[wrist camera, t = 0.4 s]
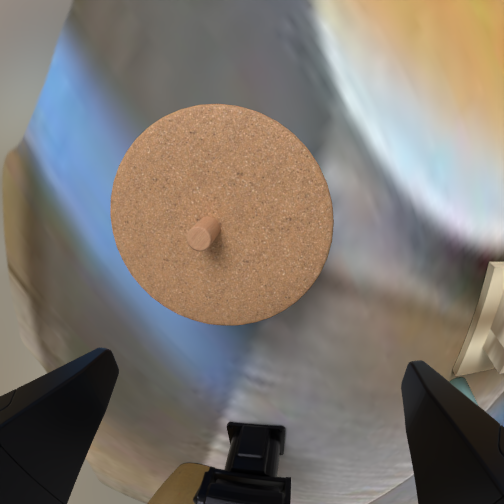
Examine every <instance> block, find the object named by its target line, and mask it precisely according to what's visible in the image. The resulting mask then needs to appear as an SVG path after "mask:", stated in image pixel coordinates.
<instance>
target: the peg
mask: <svg viewBox="0 0 504 504" xmlns="http://www.w3.org/2000/svg"><path fill="white" fill-rule="evenodd" d="M450 383H451V384H452V385H454V386H455V387H456V388H457V389H458V390H460V391H461V392H462V393H463V394H465V395H466V396H467V397H468V398H469V399H471V400H472V401H473V402H474V403H475V404H477V402H476V400H475V398H474V396H473V394H472V392H471V390H470V387H469V385H468V383H467V381H466V379H465V378H463V377H459V378H455V379H453V380H451V381H450Z"/></svg>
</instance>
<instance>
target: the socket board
mask: <svg viewBox="0 0 504 504" xmlns="http://www.w3.org/2000/svg"><path fill="white" fill-rule="evenodd" d="M495 368H496V370H497V371H498V373H499V374H502V373H504V262H489V264H488V268H487V272H486V276H485V280H484V284H483V287H482V291H481V294H480V298H479V301H478V304H477V307H476V310H475V313H474V316H473V319H472V322H471V325H470V328H469V331H468V333H467V336H466V339H465V341H464V344H463V346H462V349H461V351H460V354H459V356H458V358H457V361H456V363H455V365H454V367H453V372H454V374H455V376H460V375H466V374H471V373H476V372H481V371H486V370H491V369H495Z"/></svg>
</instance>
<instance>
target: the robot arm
mask: <svg viewBox="0 0 504 504" xmlns="http://www.w3.org/2000/svg"><path fill="white" fill-rule="evenodd" d="M118 374H119V369H118V366H117V363H116V361H115V358H114V356H113V353H112V351H111V350H109V349H106V348H97V349H95V350H93V351H91V352H89V353H87V354H85V355H83V356H81V357H79V358H77V359H75V360H73V361H71V362H69V363H67V364H65V365H63V366H61V367H59V368H57V369H55V370H53V371H51V372H49V373H47V374H45V375H43V376H41V377H39V378H37V379H35V380H33V381H31V382H30V383H27V384H25V385H23V386H21V387H19V388H17V389H15V390H13V391H11V392H9V393H7V394H4V395H3V396H0V504H67V502H68V500H69V497H70V494H71V492H72V489H73V487H74V484H75V482H76V479H77V476H78V474H79V472H80V469H81V467H82V464H83V462H84V460H85V457H86V455H87V453H88V450H89V448H90V446H91V443H92V441H93V439H94V436H95V434H96V432H97V430H98V427H99V425H100V423H101V421H102V419H103V416H104V414H105V412H106V409H107V406H108V403H109V400H110V397H111V394H112V392H113V389H114V386H115V383H116V380H117V377H118ZM401 389H402V397H403V406H404V415H405V425H406V433H407V439H408V444H409V449H410V454H411V459H412V465H413V471H414V477H415V483H416V490H417V497H418V504H504V427H503V426H500V424H499V423H498V422H497V421H496V420H495V419H493V418H492V417H491V416H490V415H489V414H487V413H486V412H485V411H484V410H483V409H481V408H480V407H479V406H478V405H477V404H475V403H474V402H473V401H472V400H471V399H469V398H468V397H467V396H466V395H465V394H463V393H462V392H461V391H460V390H458V389H457V388H456V387H455V386H454V385H452V384H451V383H450V382H449V381H447V380H446V379H445V378H444V377H443V376H441V375H440V374H439V373H438V372H436V371H435V370H434V369H433V368H431V367H430V366H429V365H428V364H426V363H425V362H424V361H421V360H420V361H411V362H410V363H409V364H408V366H407V369H406V372H405V375H404V378H403V380H402V386H401ZM227 430H228V435H229V440H230V445H231V446H230V450H229V454H228V458H227V462H226V466H225V470H221V469H216V468H214V467H210V468H209V471H207V472H205V473H204V477H203V480H202V483H201V485H200V487H199V489H198V491H197V492H196V494H195V496H194V498H193V502H194V503H195V504H290V495H291V477H286V478H282V477H277V471H278V462H279V455H283V452H284V437H285V428H284V427H283V426H268V425H254V424H242V423H233V422H229V423H228V424H227Z"/></svg>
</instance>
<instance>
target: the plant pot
mask: <svg viewBox="0 0 504 504" xmlns="http://www.w3.org/2000/svg"><path fill="white" fill-rule="evenodd" d="M209 468H210V467H208V466H205V465H201V464H195V463H184V464H181V465H180V466H179V467H178V468H177V469H176V470H175V471H174V472H173V473H172V474H171V475H170V476H169V478H168V479H167V480H166V481H165V482H164V483H163V484H162V486H161V487H160V488H159V489H158V490H157V492H156V493H155V494H154V496H153V497H152V498H151V499H150V501H149V502H148V504H195V503H194V502H193V498H194V496H195V494H196V492H197V491H198V489H199V487H200V485H201V483H202V480H203V477H204V473H205V472H207V471H209Z"/></svg>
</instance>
